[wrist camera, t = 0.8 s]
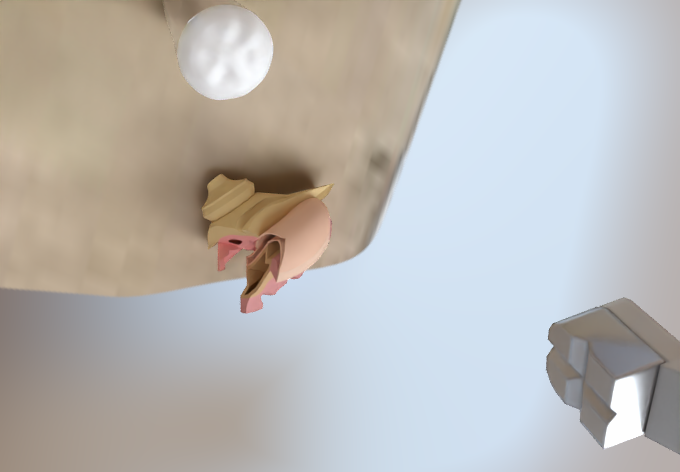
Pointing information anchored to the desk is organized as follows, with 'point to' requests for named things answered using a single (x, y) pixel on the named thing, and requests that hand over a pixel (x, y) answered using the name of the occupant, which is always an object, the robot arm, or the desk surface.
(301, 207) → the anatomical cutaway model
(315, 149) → the desk surface
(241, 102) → the desk surface
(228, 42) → the milkshake
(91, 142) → the desk surface
